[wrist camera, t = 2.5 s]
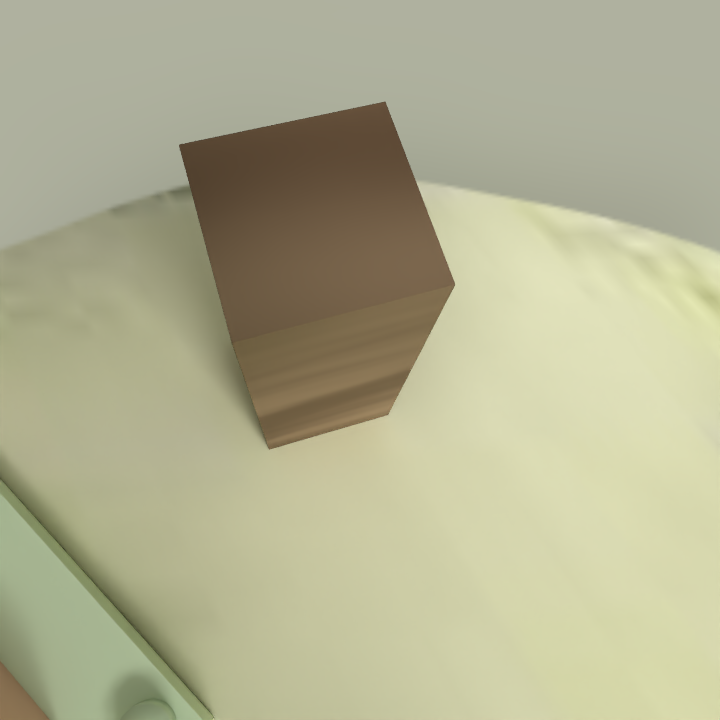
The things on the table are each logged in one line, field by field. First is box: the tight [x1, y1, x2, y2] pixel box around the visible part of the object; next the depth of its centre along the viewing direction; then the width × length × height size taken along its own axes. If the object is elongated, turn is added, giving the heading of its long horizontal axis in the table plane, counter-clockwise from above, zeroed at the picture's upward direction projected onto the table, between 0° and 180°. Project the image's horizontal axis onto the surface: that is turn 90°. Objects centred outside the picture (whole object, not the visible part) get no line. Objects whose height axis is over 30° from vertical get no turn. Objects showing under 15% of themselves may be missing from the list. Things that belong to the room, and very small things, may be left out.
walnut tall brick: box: [179, 102, 455, 449], centre depth 18 cm, size 4×4×12 cm
